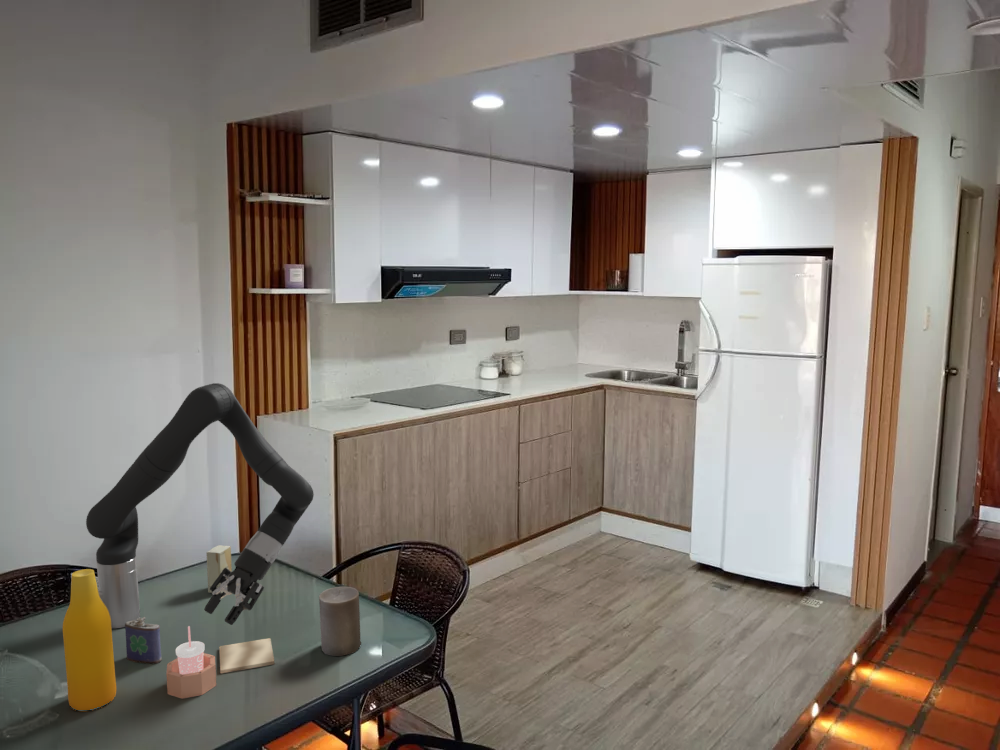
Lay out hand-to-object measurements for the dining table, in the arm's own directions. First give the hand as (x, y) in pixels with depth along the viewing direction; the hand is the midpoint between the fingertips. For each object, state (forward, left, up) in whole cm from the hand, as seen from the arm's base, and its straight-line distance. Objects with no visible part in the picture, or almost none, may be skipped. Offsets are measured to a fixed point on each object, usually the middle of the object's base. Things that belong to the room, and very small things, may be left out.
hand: (217, 617), depth 177 cm
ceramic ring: (-6, -4, -13) cm, 15 cm away
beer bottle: (-26, -3, -14) cm, 29 cm away
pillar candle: (+28, +2, -14) cm, 31 cm away
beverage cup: (-6, -4, -14) cm, 15 cm away
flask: (-17, +12, -14) cm, 25 cm away
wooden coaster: (+6, +5, -13) cm, 16 cm away
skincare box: (+1, +48, -14) cm, 50 cm away
